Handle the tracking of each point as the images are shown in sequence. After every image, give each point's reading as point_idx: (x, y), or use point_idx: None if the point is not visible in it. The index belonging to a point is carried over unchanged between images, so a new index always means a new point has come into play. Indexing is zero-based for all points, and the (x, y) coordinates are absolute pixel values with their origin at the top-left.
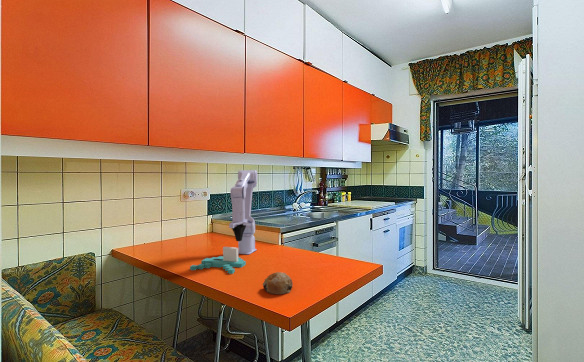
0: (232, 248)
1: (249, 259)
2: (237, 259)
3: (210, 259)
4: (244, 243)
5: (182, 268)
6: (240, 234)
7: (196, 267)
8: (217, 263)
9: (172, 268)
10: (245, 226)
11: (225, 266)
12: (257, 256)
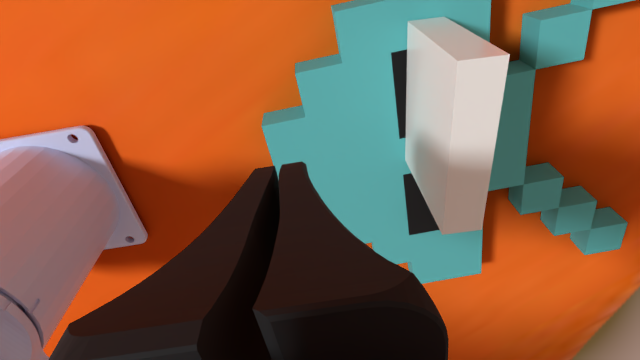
0: (498, 112)
1: (206, 20)
2: (431, 23)
3: (439, 246)
4: (54, 232)
5: (575, 281)
6: (330, 212)
7: (594, 219)
8: (525, 142)
9: (580, 315)
10: (116, 330)
11: (585, 31)
12: (67, 9)
